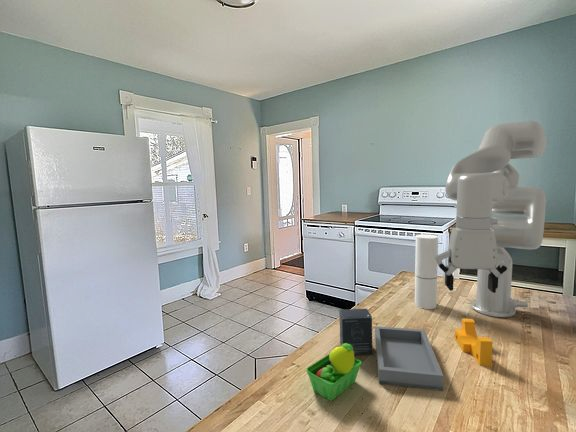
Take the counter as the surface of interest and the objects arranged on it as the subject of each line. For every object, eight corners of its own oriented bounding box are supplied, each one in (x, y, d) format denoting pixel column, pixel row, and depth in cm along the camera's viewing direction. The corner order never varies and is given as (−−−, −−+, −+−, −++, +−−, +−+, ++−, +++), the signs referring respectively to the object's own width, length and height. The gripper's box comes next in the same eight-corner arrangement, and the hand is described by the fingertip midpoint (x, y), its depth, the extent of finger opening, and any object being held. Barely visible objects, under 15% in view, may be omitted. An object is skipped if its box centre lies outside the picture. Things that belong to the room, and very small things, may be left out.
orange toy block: (454, 339, 87) (455, 318, 87) (471, 340, 87) (472, 318, 86) (471, 365, 76) (472, 340, 75) (491, 366, 75) (492, 341, 74)
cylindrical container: (437, 303, 112) (439, 235, 108) (435, 310, 106) (436, 239, 102) (416, 299, 115) (417, 233, 112) (412, 306, 109) (413, 237, 106)
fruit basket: (336, 367, 77) (335, 324, 75) (367, 384, 70) (367, 337, 69) (305, 390, 69) (303, 343, 67) (336, 411, 62) (335, 359, 61)
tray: (424, 341, 87) (424, 329, 86) (442, 390, 67) (443, 375, 67) (374, 337, 90) (374, 326, 89) (378, 383, 70) (378, 369, 70)
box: (367, 343, 87) (367, 307, 85) (372, 355, 81) (372, 317, 80) (339, 344, 87) (338, 308, 86) (343, 356, 81) (342, 318, 80)
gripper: (505, 221, 79) (502, 286, 81) (432, 221, 82) (430, 283, 85) (520, 226, 71) (516, 297, 73) (439, 225, 75) (437, 293, 77)
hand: (470, 289), depth 79 cm, fingers open, 9 cm apart
